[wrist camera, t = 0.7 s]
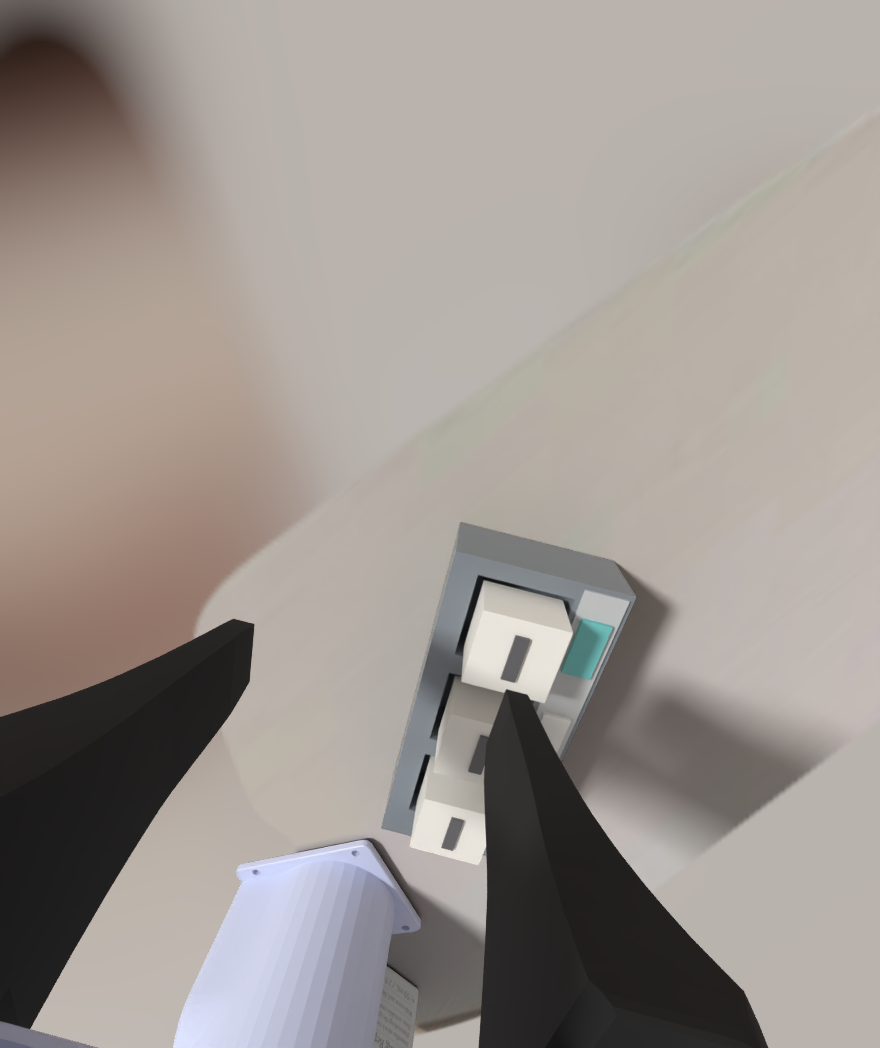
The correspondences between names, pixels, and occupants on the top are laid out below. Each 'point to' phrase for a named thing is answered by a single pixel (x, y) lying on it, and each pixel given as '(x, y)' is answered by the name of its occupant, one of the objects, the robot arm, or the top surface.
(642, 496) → the top surface
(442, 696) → the console
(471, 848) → the button
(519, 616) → the button
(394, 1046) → the skincare box
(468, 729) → the button middle
